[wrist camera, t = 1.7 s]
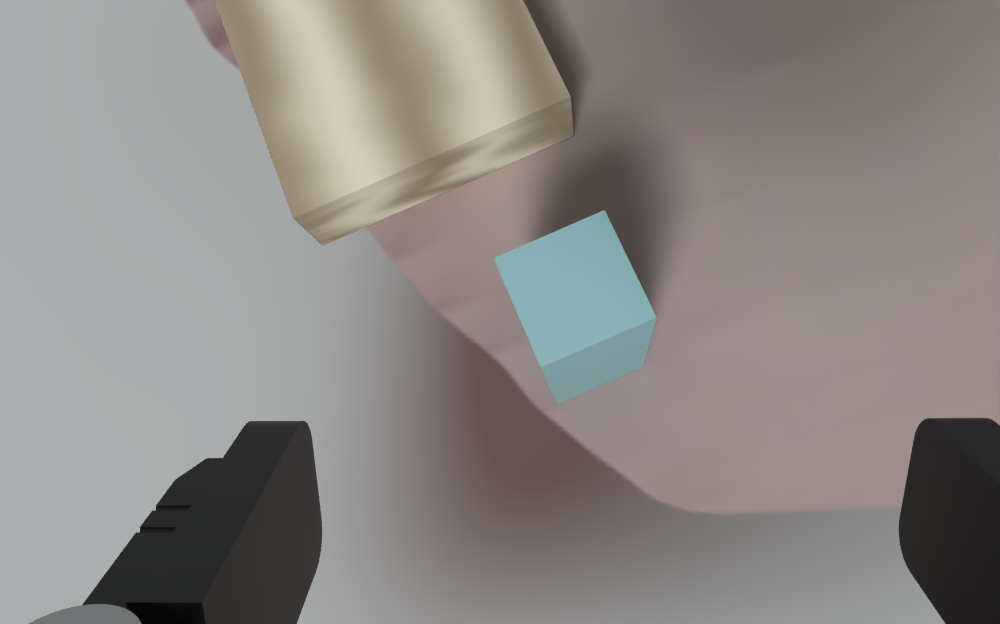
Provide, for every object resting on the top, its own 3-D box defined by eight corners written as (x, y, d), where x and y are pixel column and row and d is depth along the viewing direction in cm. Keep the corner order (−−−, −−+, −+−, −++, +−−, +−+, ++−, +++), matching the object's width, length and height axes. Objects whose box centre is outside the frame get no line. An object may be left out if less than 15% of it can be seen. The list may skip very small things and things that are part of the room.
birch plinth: (446, -127, 46) (431, -185, 42) (574, 135, 41) (570, 96, 37) (222, -27, 46) (187, -76, 42) (322, 245, 41) (293, 218, 37)
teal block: (604, 284, 39) (604, 209, 29) (643, 367, 38) (656, 317, 28) (521, 320, 39) (493, 258, 29) (557, 404, 38) (540, 367, 28)
